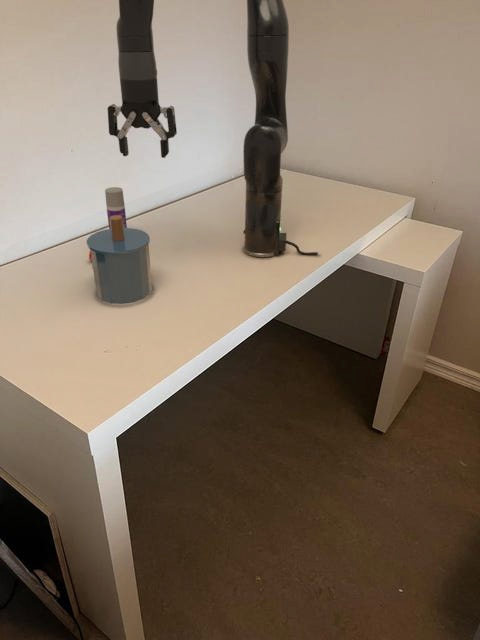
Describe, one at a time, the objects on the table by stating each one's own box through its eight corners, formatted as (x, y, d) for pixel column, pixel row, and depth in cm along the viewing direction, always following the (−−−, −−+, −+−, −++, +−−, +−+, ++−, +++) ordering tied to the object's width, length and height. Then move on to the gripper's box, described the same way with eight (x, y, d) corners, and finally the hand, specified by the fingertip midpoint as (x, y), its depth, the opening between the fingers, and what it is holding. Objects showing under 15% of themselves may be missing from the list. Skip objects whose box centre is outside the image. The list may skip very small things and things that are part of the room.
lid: (156, 234, 119) (154, 207, 116) (141, 259, 108) (138, 230, 105) (98, 231, 120) (95, 205, 117) (78, 255, 109) (73, 227, 106)
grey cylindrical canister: (157, 281, 125) (153, 232, 119) (144, 307, 115) (139, 255, 108) (106, 278, 126) (100, 229, 120) (89, 304, 116) (81, 252, 109)
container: (124, 247, 142) (118, 193, 134) (108, 245, 142) (101, 191, 134) (131, 240, 146) (125, 187, 138) (115, 239, 146) (108, 186, 138)
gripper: (98, 77, 104) (108, 159, 113) (169, 79, 103) (173, 162, 112) (109, 72, 111) (118, 150, 119) (176, 74, 110) (180, 153, 118)
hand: (144, 156), depth 115 cm, fingers open, 8 cm apart
